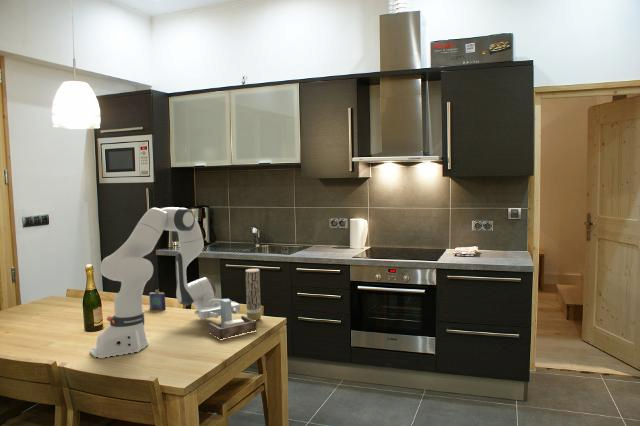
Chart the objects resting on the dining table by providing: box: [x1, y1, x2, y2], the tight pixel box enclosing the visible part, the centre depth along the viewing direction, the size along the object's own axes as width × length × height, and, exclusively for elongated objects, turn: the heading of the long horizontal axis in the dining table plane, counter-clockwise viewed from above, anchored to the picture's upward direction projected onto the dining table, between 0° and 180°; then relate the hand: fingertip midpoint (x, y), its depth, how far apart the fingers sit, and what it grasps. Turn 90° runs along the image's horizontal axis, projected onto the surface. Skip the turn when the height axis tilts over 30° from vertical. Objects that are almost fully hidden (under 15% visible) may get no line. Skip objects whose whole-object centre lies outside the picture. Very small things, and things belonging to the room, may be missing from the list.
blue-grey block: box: [220, 298, 233, 328], centre depth 232 cm, size 3×5×14 cm, turn 37°
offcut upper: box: [224, 318, 244, 328], centre depth 226 cm, size 8×4×3 cm, turn 119°
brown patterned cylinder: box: [245, 268, 262, 321], centre depth 247 cm, size 7×7×25 cm
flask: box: [148, 289, 166, 311], centre depth 271 cm, size 9×3×11 cm, turn 76°
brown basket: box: [207, 315, 257, 340], centre depth 227 cm, size 18×12×5 cm, turn 127°
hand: (226, 313), depth 231 cm, fingers open, 8 cm apart
